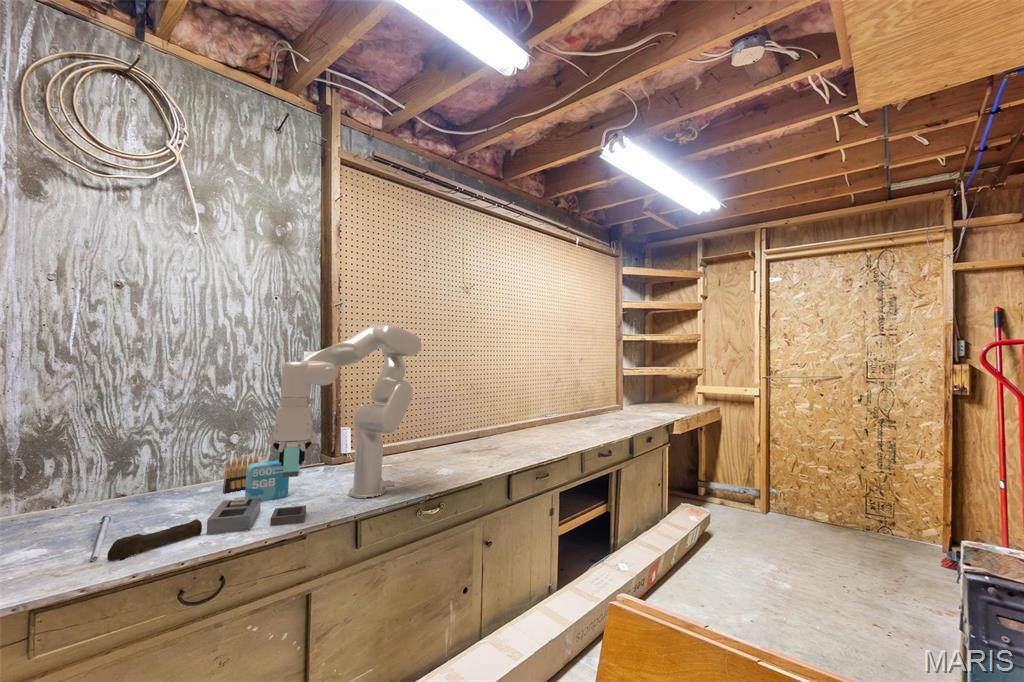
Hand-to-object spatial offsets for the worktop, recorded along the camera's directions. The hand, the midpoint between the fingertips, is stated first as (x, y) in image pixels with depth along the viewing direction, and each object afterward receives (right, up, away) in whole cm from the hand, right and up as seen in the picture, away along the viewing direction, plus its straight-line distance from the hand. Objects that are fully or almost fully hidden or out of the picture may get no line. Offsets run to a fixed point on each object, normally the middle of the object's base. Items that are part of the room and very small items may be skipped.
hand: (291, 463), depth 127 cm
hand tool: (-23, -15, -21) cm, 34 cm away
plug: (0, -3, 0) cm, 3 cm away
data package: (-17, -17, +16) cm, 29 cm away
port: (-14, -16, -4) cm, 22 cm away
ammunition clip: (-31, -17, +25) cm, 43 cm away
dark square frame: (-1, -16, -1) cm, 16 cm away
